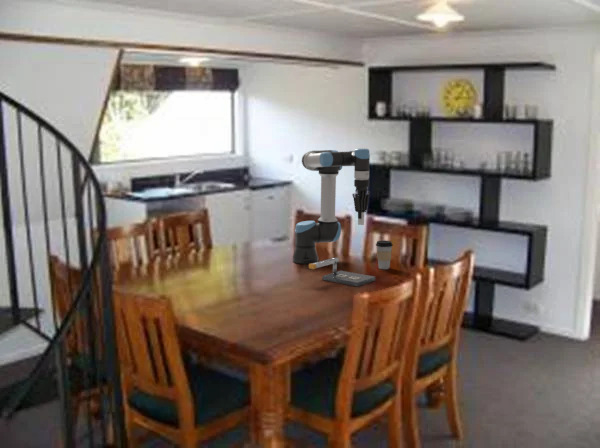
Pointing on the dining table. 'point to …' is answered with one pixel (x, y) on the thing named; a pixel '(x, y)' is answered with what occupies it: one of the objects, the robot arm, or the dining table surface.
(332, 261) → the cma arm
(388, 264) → the coffee cup
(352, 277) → the chassis
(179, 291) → the dining table surface
